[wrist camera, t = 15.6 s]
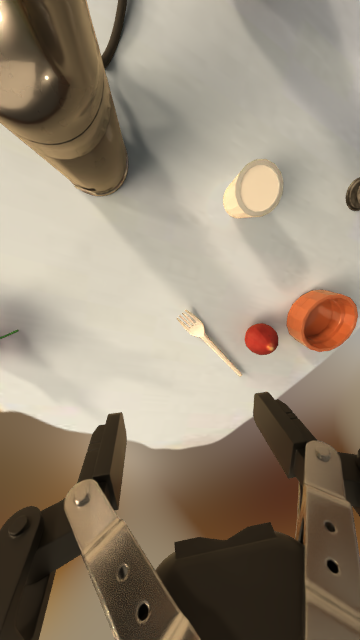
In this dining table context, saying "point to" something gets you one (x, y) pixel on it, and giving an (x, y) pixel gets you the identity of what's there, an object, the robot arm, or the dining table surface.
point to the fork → (204, 336)
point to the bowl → (322, 319)
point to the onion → (261, 339)
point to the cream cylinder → (254, 190)
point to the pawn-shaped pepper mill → (353, 195)
